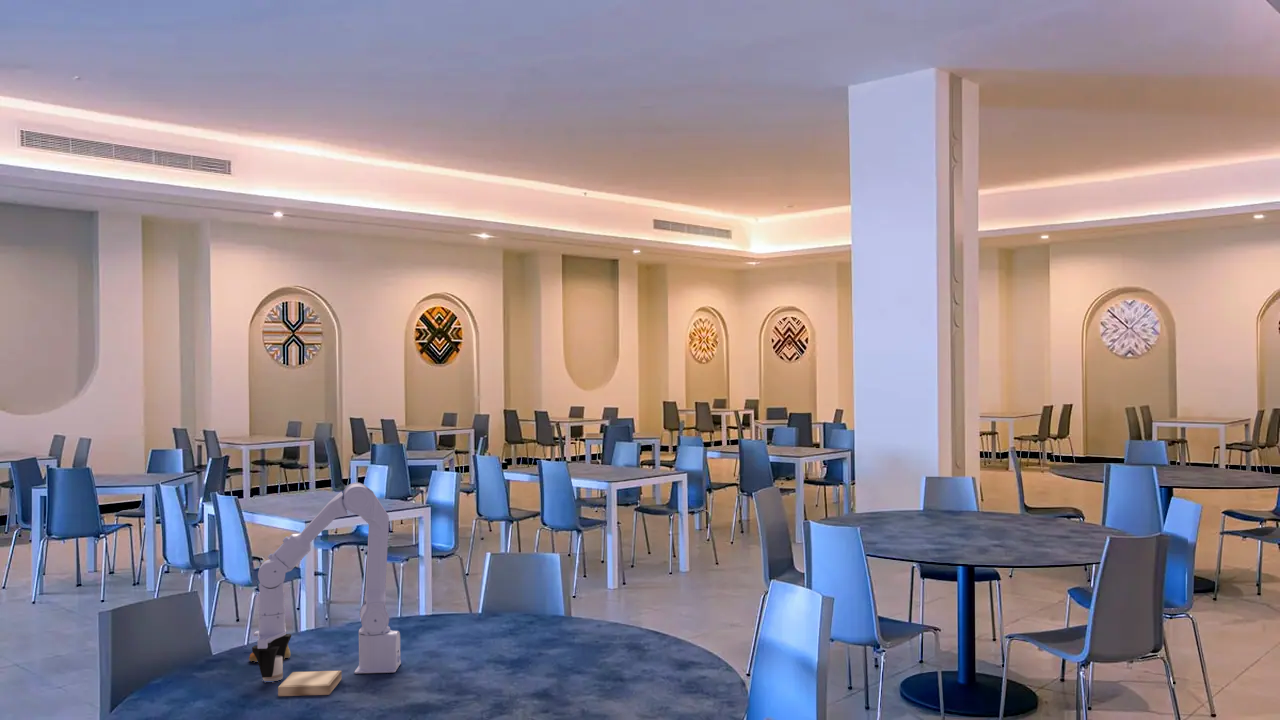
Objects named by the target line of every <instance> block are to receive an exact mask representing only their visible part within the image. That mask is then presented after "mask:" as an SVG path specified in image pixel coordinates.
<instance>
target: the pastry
mask: <svg viewBox="0 0 1280 720" xmlns="http://www.w3.org/2000/svg"><path fill="white" fill-rule="evenodd" d="M291 655H292V654H291V649H290V648H289V644H288V645H287V648H286V652H285V657H284V660H286V659H285V658H288V659H290V657H291ZM248 661H250V662H252V661H255V662H257V658H256V656H255V655H254V653H253V652H251V653H250V654H249V657H248ZM255 662H254V663H255Z"/></svg>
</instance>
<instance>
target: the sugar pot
mask: <svg viewBox="0 0 1280 720" xmlns="http://www.w3.org/2000/svg"><path fill="white" fill-rule="evenodd" d="M283 665H284V662H283V657H282V656H280V655H276V657H275V662H274V670H273V675H272V677H262V676H261V678H262V679H263V680H264V681H278V680H281V679H282V680H283V679H284V678H283V677H284V672H283V671H284V670H283V668H284V666H283ZM263 680H262V681H263ZM282 680H281V681H282ZM278 682H279V681H278Z"/></svg>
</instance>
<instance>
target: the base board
mask: <svg viewBox="0 0 1280 720" xmlns="http://www.w3.org/2000/svg"><path fill="white" fill-rule="evenodd" d="M342 672H343V671H342V670H321V671H320V670H318V671H317V670H316V671H315V670H313V671H292V672H291V673H290V674H289V676H287V677H286V678H285V679H284V680H283V681H282V682H281V684H280V685H279V686H277V697H293V696H296V697H297V696H327V695H328V696H329V695H331V693H332V692H333V691H334V689H335V688H336V687H337V686H338V684H339V683H340V682H341V681H342V677H343V676H342Z"/></svg>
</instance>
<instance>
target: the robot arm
mask: <svg viewBox="0 0 1280 720" xmlns="http://www.w3.org/2000/svg"><path fill="white" fill-rule="evenodd" d="M348 511H349V512H351V513H352V514H355V515H357V516H358V517H361V519H362V520H363V521H364V522H366V524H368V532H367V533H368V534H367V536H368V537H367V555H366V556H367V557H366V573H365V574H366V575H365V577H366V578H365V590H364V597H363V598H364V599H363V603H362V604H361V606H360V609H359V617H360V620H361V627H360V628H359V629H358V666H357V668H355V670H354V674H386V673H387V674H388V673H389V674H390V673H396V671H397V670H398V668H399V666H400V665H401V664H402V661H401V633H400V631H399V630H392V629H391V627H390V626H389V623H390V615H389V613H388V611H387V607H386V605H387V602H386V601H387V600H386V599H387V595H386V587H387V585H386V583H387V565H388V564H387V563H388V545H389V544H388V543H389V523H390V517H389V514H388V512H387V511H386V510H385V508H384V506H383V504H382V503H381V502H380V500H379V499H378V497H377V496H376V494H375V492H374V491H373V490H372V489H370V488H369V487H368V486H367V485H365V484H364V483H361V482H351V483H350V484H348V485H346V487H345V488H344V489H343V491H340V492H339V493H338V494H336V495H335V496H334V497H333V498H332V499H331V500H329V501H328V502H327V503H326V504H325V506H324V507H323V508H322V509H321V510H320V511H319V512H318V513H317V515H316V516H315V517H314V518H312V520H311V521H310V522H309V523H308V525H307V526H306V527H305V528H304V529H303V530H301V532H299V533H292V534H291V535H290V536H285V537H284V538H283V539H282V542H283V543H282V544H281V545H279V547H278V548H277V549H276V550H275V551H274V552H273V553H269V554H268V556H267V560H264V561H263V562H262V563H261V564H260V566H259V569H258V572H257V580H258V582H259V584H258V590H259V593H258V630H256V631H255V632H253V637H257V639H258V640H257V645H254V646H252V648H251V651H252V652H251V653H254V655H255V656H256V658H257V661H258V663H257V664H258V667H259V670H260V675H261V678H262V677H272V675H273V670H274V662H275V657H276V655H280V656H282V657H283V663H284V661H285V659H284V657H285V652H286V648H287V645H288V646H289V643H290V640H291V638H292V634H291V633H287V624H286V592H285V590H284V588H285V587H284V582H285V579H286V573H289V572H291V571H293V569H294V568H295V567H296V566H298V564H299V563H300V562H301V561H302V560H303V559H304V558H305V557H306V555H309V553H310V552H311V542H313V540H314V539H316V538H317V536H319V535H320V533H322V532H323V531H324V530H325V528H326V527H328V526H329V525H330V524H331V523H332V522H333V521H334V520H335V519H338V518H341V517H345V516H348Z"/></svg>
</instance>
